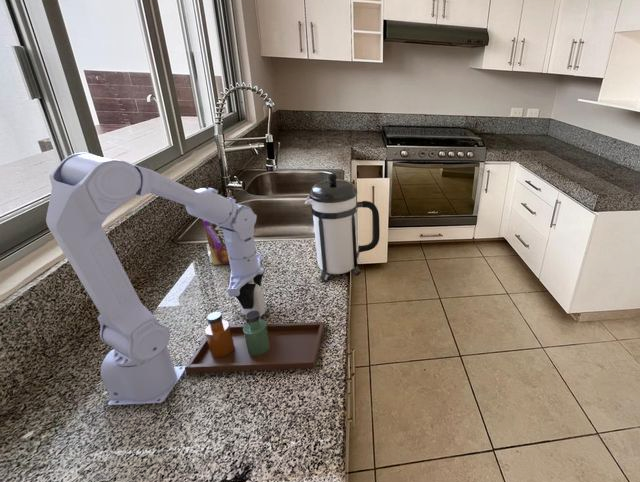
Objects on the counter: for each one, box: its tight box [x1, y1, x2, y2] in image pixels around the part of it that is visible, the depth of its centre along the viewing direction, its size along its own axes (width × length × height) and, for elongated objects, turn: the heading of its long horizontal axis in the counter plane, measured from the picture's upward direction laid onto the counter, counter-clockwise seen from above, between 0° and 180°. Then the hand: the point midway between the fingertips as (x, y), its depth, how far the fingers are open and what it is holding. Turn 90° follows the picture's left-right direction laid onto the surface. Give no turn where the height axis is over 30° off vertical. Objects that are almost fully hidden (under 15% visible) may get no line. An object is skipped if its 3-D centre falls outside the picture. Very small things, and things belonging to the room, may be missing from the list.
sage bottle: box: [243, 311, 270, 356], centre depth 72 cm, size 4×4×9 cm
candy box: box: [202, 219, 230, 266], centre depth 103 cm, size 9×4×15 cm, turn 99°
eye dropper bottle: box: [238, 278, 267, 317], centre depth 82 cm, size 4×6×12 cm
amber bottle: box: [204, 311, 234, 358], centre depth 71 cm, size 4×4×9 cm
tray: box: [184, 321, 326, 374], centre depth 73 cm, size 25×12×2 cm, turn 94°
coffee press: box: [304, 172, 381, 282], centre depth 98 cm, size 17×16×30 cm
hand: (251, 302), depth 83 cm, fingers closed on eye dropper bottle, 4 cm apart
